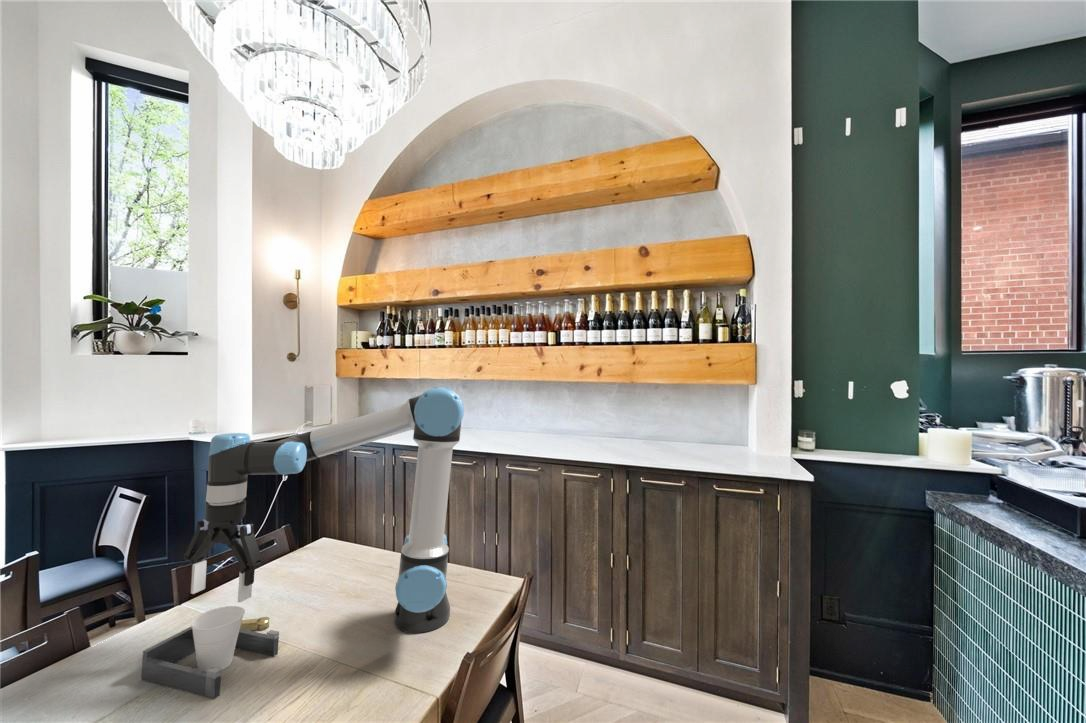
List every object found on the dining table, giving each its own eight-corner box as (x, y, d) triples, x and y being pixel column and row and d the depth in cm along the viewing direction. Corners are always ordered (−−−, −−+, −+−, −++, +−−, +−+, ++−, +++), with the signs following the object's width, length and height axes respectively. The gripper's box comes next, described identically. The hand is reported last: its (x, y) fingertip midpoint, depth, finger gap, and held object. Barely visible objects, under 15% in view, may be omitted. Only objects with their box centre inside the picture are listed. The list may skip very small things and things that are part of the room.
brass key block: (270, 624, 114) (270, 616, 115) (266, 629, 112) (267, 621, 112) (240, 627, 113) (241, 619, 113) (236, 633, 110) (236, 625, 110)
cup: (234, 648, 104) (237, 601, 104) (247, 665, 98) (251, 616, 98) (181, 668, 96) (185, 617, 97) (192, 688, 90) (197, 634, 91)
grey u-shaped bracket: (277, 654, 102) (279, 628, 102) (213, 699, 87) (216, 668, 87) (211, 639, 107) (213, 614, 107) (140, 679, 92) (143, 651, 92)
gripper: (284, 501, 100) (279, 595, 98) (201, 492, 106) (195, 580, 104) (255, 510, 92) (249, 611, 91) (168, 500, 98) (161, 595, 97)
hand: (220, 595), depth 98 cm, fingers open, 13 cm apart
